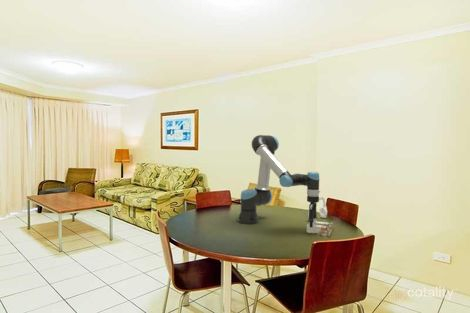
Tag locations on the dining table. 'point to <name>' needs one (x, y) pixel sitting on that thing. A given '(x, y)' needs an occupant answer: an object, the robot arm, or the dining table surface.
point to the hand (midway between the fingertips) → (312, 230)
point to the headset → (322, 209)
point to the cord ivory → (317, 228)
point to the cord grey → (322, 223)
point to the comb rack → (328, 232)
